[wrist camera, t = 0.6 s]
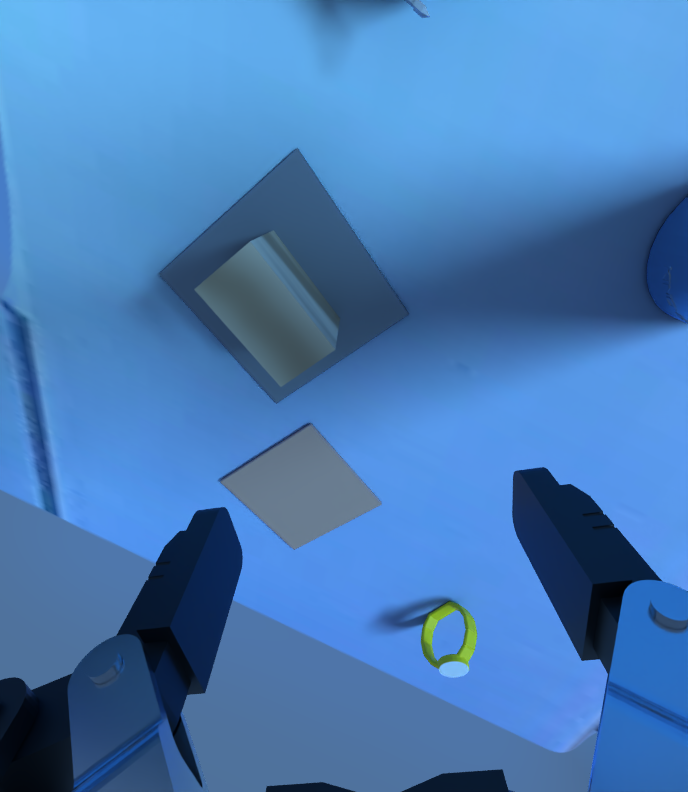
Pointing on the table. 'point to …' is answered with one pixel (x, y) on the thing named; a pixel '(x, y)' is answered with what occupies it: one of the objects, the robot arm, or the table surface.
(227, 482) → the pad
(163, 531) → the table surface
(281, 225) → the board
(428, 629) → the watch
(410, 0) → the robot toy
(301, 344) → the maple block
